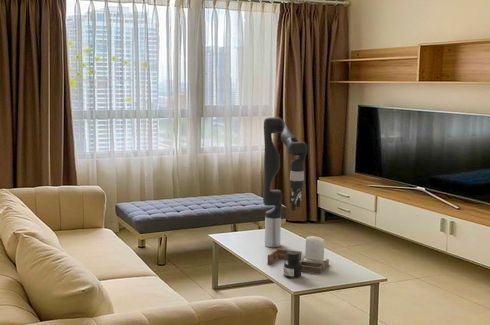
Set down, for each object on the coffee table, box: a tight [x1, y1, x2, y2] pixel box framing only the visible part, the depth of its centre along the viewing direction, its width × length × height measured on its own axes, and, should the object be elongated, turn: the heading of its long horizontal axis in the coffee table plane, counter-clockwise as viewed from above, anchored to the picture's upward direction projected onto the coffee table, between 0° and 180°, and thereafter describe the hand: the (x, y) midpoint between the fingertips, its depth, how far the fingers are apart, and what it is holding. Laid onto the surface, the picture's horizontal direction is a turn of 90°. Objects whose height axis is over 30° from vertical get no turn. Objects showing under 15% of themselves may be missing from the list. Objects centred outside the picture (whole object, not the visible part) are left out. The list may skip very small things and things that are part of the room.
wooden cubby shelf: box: [267, 247, 302, 265], centre depth 318 cm, size 14×14×5 cm
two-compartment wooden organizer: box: [300, 256, 330, 275], centre depth 311 cm, size 17×13×3 cm
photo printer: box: [304, 235, 326, 261], centre depth 313 cm, size 10×4×12 cm, turn 58°
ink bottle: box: [283, 250, 303, 279], centre depth 297 cm, size 10×9×12 cm
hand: (295, 208), depth 321 cm, fingers open, 8 cm apart
